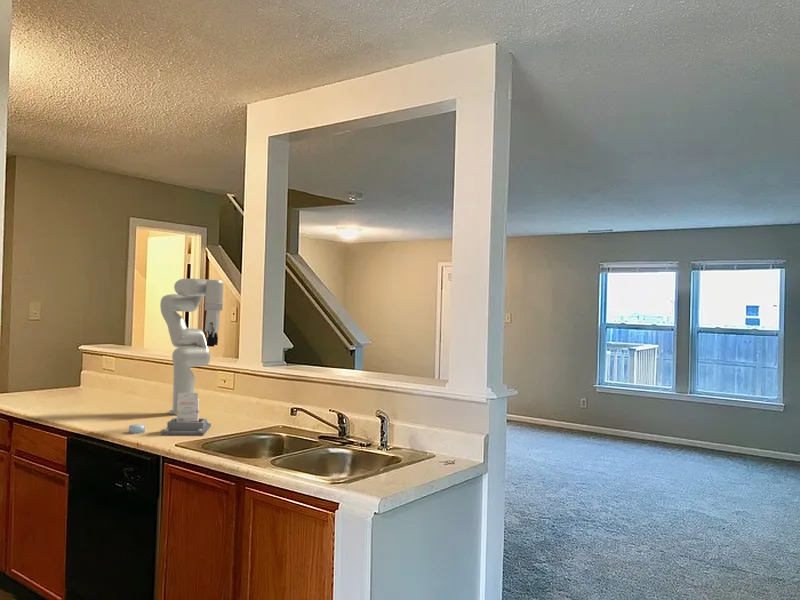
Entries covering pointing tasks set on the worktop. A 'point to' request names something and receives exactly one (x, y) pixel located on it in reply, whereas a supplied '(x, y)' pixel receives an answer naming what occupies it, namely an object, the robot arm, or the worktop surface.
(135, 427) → the pale blue dome
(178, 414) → the ink cartridge box
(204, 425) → the chassis plate
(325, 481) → the worktop surface
